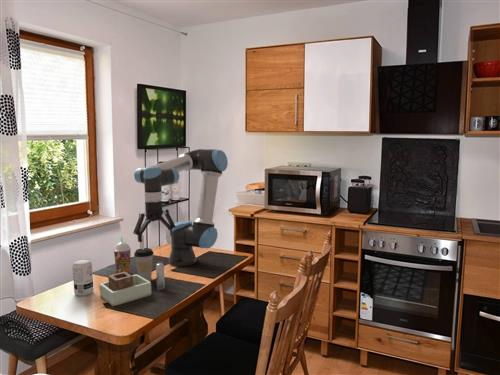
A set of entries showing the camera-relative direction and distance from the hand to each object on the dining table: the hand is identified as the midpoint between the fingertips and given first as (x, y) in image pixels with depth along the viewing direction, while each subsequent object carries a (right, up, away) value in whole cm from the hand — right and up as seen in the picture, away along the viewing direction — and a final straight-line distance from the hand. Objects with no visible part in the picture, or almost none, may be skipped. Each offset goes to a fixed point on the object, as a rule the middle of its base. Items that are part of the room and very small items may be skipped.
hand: (155, 245), depth 192 cm
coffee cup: (-9, -19, +15) cm, 26 cm away
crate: (-12, -22, -5) cm, 26 cm away
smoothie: (-22, -18, +22) cm, 36 cm away
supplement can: (-33, -22, -1) cm, 39 cm away
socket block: (-14, -22, -6) cm, 27 cm away
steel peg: (+2, -21, +3) cm, 21 cm away
